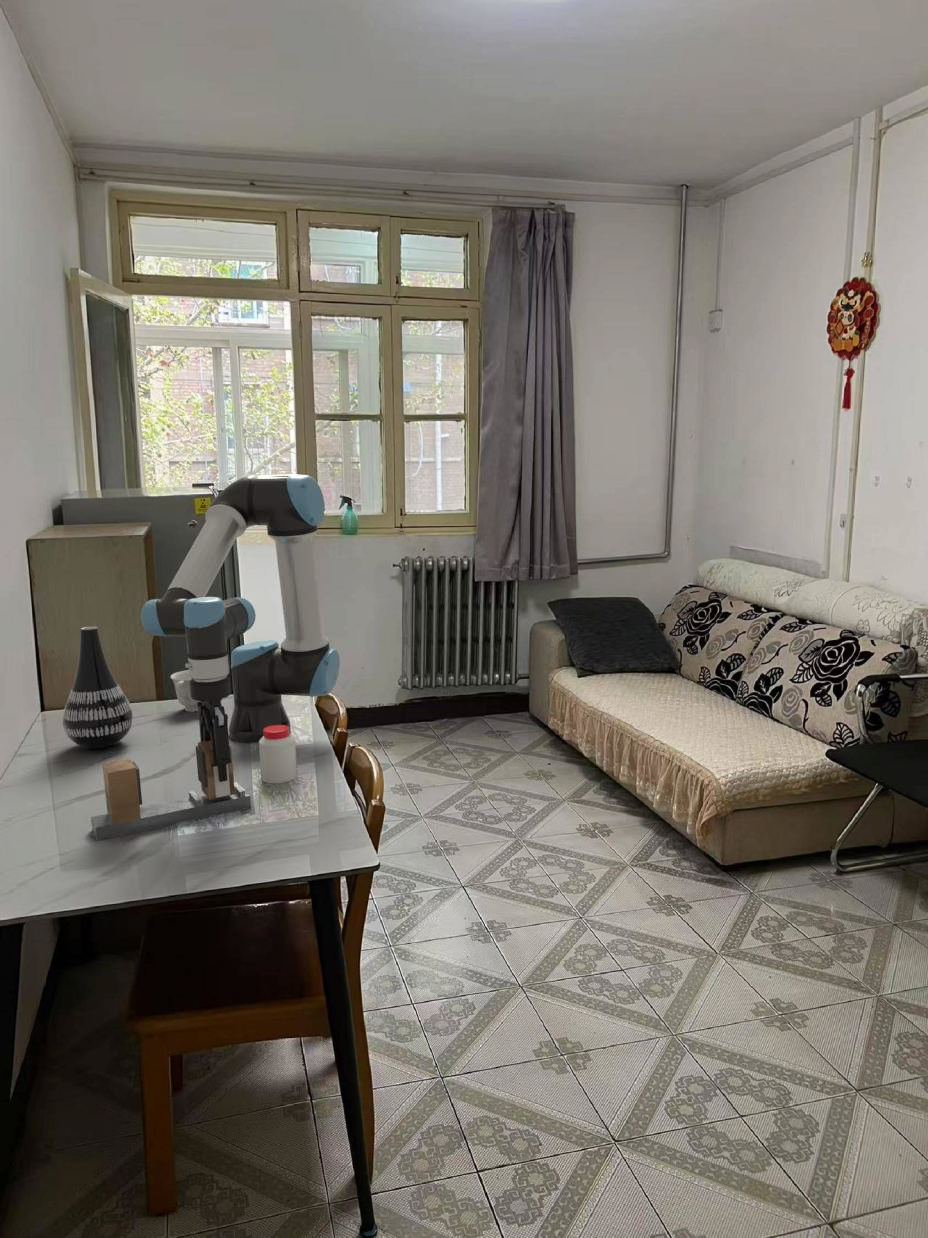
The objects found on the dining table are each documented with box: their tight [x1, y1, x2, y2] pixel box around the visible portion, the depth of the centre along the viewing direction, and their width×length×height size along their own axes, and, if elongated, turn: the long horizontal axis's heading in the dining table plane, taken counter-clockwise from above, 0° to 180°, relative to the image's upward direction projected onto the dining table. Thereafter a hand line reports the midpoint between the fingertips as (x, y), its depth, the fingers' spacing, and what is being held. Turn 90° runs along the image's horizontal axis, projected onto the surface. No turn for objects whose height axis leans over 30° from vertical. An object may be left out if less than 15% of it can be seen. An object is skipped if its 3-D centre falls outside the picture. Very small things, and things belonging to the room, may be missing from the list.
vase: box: [62, 626, 134, 751], centre depth 223 cm, size 16×16×30 cm
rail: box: [90, 758, 252, 842], centre depth 178 cm, size 29×6×12 cm, turn 120°
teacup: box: [170, 669, 198, 713], centre depth 254 cm, size 12×15×10 cm
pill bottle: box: [258, 725, 298, 784], centre depth 200 cm, size 8×8×11 cm
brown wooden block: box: [195, 740, 235, 800], centre depth 182 cm, size 6×6×10 cm
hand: (218, 790), depth 183 cm, fingers closed on brown wooden block, 6 cm apart
